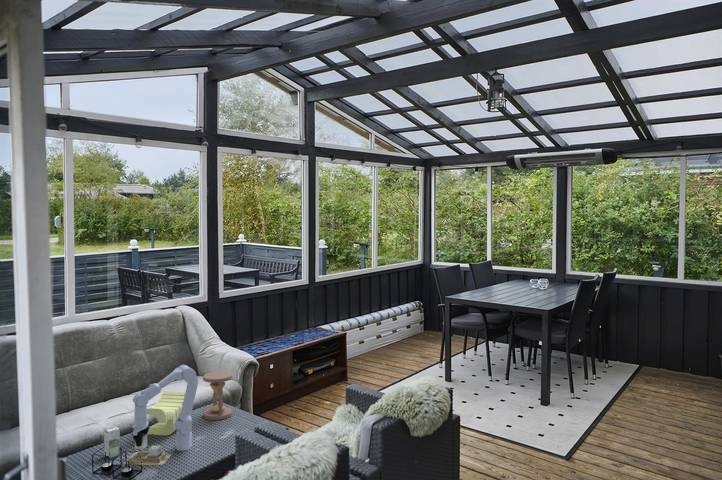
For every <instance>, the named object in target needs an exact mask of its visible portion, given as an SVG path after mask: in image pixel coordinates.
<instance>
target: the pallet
mask: <svg viewBox="0 0 722 480" xmlns="http://www.w3.org/2000/svg"><path fill="white" fill-rule="evenodd" d="M172 455H173V453H167V452H166V451H161V456H160V457H159V458H149V451H135V453H133V454H132V455H131V456H130V457H128V459H130V465H129V466H131V465H132V466H133V465H134V466H137V465H140V466H163V465H164V464H165V463H166V462H167V461H168V459H170V457H171V456H172ZM140 456H141V458H140ZM141 462H142V463H141ZM125 464H126V460H125V461H124V462H123V463H122V465H125Z"/></svg>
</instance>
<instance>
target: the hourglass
mask: <svg viewBox="0 0 722 480" xmlns="http://www.w3.org/2000/svg"><path fill="white" fill-rule="evenodd" d="M232 379H233V374H232V373H231V372H229V371H213V372H207V373H205V374H203V376H202V381H203V382H205V383H209V386H210V388H211V389H212V392H213V394H212V401H213V402H212V403H213V404H212V406H211V407H210V408H207V409H206V410H204V411H203V415H202V416H203V418H204V419H206V420H208V421H209V420H210V421H216V420H217V421H220V419H221V420H225V419H228V418H230V417H231V416H232V415H233V409H232V408H231V407H226V405H224V401H223V395H224V390H223V389H224V388H225V386H226V382H229V381H231V380H232ZM218 397H219V398H218Z"/></svg>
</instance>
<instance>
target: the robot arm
mask: <svg viewBox="0 0 722 480" xmlns="http://www.w3.org/2000/svg"><path fill="white" fill-rule="evenodd" d="M183 380H184V381H185V382H186V389H185V397H184V401H183V406H182V410H181V414H180V415H179V416H178V419H177V420H176V422H175V425H174V426H175V428H176V432H175V441H176V442H175V443H176V445H175V447H176V448H175V449H176V451H179V452H184V451H188V450H190V449H191V447H192V445H193V433H192V430H193V425H192V423H193V420H192V412H193V407H194V403H195V399H196V395H197V390H198V384H199V379H198V377H197V372H196V371H195V370H194V369H193V368H191V367H190V366H188V365H186V364H181V365H179V366H178V367H175V368H174V370H173V371H172V372H170V373H169V374H168V375H166V376H165V377H164V378H163V379H161V380H160V381H158V382H157V383H150V384H149V385H148V387H146V388H145V389H142V390H141V391H140V392H137V393H135V395H133V398H132V402H133V403H134V425H132V427H131V428H132V429H133V431H132V432H131V437H132V438H133V440H134V444H135V443H136V446H137V447H140V446H141V444H142V438H143V435H144V434H147V433H148V431H149V429H150V428H151V427H150V426H148V425H150V424H149V420H148V417H147V416H148V414H147V409H148V407H147V405H148V403H149V401H151V400H152V399H154V397H156V396H157V395H158V394H160V393H161V391H162V389H163V388H165V387H166V386H168V385H169V384H171V383H173V382H175V381H183ZM147 435H148V434H147Z"/></svg>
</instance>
